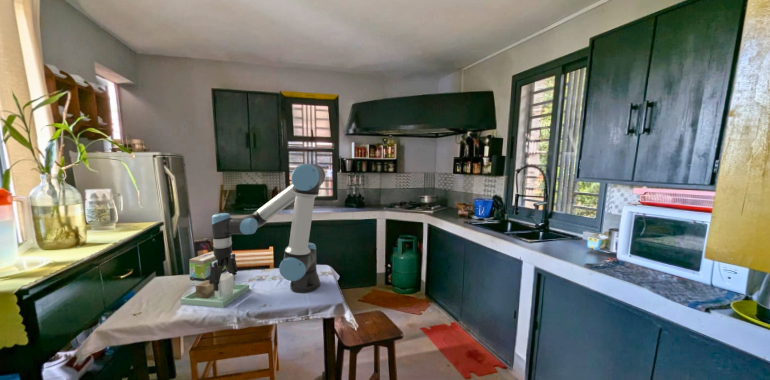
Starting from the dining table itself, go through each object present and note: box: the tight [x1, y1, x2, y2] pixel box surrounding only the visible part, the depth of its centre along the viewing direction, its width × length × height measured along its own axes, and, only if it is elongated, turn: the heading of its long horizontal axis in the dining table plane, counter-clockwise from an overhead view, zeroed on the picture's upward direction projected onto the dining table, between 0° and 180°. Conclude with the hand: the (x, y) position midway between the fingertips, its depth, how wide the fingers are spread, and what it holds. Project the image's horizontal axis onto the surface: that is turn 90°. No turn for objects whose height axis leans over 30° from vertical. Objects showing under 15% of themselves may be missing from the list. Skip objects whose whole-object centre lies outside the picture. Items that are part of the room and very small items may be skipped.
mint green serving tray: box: [179, 283, 250, 308], centre depth 135 cm, size 22×19×3 cm
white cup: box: [217, 272, 233, 300], centre depth 134 cm, size 8×8×10 cm
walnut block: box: [195, 281, 215, 299], centre depth 136 cm, size 6×6×6 cm
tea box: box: [188, 250, 228, 287], centre depth 153 cm, size 15×10×15 cm, turn 168°
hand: (225, 292), depth 134 cm, fingers open, 9 cm apart
